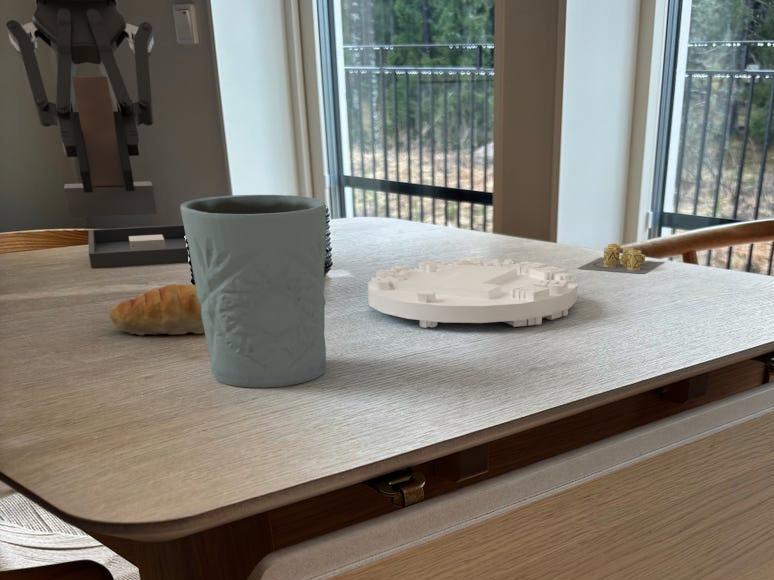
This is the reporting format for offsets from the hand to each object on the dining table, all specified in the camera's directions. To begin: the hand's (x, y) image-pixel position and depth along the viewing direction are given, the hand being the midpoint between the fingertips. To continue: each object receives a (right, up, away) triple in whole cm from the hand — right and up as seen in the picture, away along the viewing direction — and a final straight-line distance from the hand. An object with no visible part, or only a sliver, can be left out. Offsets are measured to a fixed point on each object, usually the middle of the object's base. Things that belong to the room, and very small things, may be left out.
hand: (107, 181), depth 90 cm
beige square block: (-6, +5, +28) cm, 29 cm away
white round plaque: (+34, -11, +4) cm, 36 cm away
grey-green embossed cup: (+19, -22, -15) cm, 33 cm away
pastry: (+7, -15, -3) cm, 17 cm away
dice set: (+51, +1, +23) cm, 56 cm away
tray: (-6, +4, +29) cm, 30 cm away
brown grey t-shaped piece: (-1, -1, +5) cm, 5 cm away
